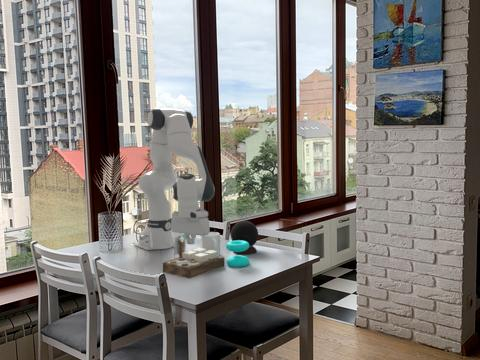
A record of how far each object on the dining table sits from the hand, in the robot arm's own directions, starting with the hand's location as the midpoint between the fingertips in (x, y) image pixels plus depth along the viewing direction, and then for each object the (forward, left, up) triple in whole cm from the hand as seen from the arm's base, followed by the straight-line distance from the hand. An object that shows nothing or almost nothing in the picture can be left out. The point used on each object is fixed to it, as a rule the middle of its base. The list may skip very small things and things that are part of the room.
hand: (190, 243), depth 216 cm
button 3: (-1, +6, -8) cm, 9 cm away
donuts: (+14, +14, -11) cm, 23 cm away
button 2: (+6, 0, -8) cm, 10 cm away
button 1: (-1, 0, -8) cm, 8 cm away
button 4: (+6, +6, -8) cm, 11 cm away
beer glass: (-15, +7, -10) cm, 19 cm away
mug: (-5, +18, -10) cm, 21 cm away
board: (+3, -1, -10) cm, 11 cm away
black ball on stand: (+2, +33, -10) cm, 35 cm away
